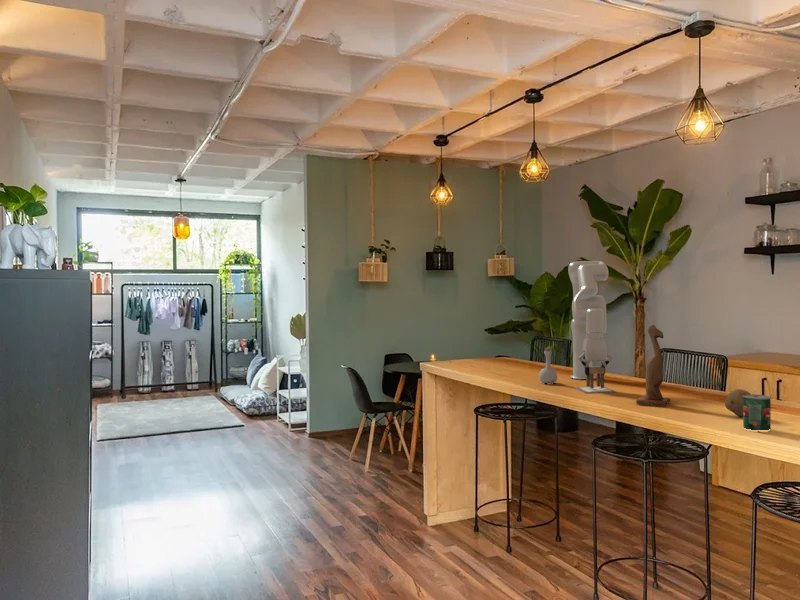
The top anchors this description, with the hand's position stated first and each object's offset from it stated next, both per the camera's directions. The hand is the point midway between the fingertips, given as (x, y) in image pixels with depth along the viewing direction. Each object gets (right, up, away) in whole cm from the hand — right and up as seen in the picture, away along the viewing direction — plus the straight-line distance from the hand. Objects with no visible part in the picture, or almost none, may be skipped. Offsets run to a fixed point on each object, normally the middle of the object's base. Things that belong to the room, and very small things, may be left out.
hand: (595, 375), depth 288 cm
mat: (0, -7, 0) cm, 7 cm away
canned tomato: (+28, -9, -81) cm, 86 cm away
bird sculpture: (+13, -8, -34) cm, 37 cm away
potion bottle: (-16, -7, +22) cm, 28 cm away
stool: (0, -6, 0) cm, 6 cm away
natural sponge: (+33, -8, -60) cm, 69 cm away
